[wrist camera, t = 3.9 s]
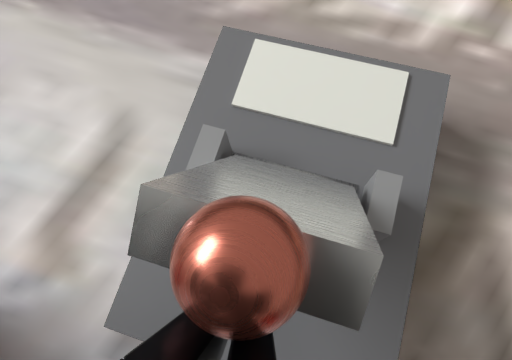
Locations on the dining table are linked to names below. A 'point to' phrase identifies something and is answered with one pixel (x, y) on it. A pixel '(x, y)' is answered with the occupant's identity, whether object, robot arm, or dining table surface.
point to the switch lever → (258, 245)
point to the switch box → (316, 161)
